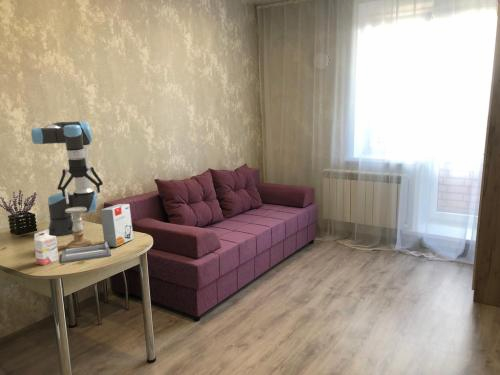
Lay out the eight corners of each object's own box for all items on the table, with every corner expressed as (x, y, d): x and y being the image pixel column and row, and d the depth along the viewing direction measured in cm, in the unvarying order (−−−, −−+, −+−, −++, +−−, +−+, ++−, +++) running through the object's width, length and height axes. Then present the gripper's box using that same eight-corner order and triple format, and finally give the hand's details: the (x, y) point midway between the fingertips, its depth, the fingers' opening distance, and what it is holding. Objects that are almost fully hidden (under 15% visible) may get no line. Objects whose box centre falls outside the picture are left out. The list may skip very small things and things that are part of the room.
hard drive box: (116, 247, 207) (111, 209, 204) (104, 247, 209) (99, 210, 206) (134, 238, 221) (129, 203, 218) (122, 238, 224) (117, 203, 221)
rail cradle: (62, 254, 200) (61, 245, 199) (108, 247, 208) (108, 239, 207) (61, 263, 187) (60, 254, 186) (111, 255, 196) (110, 247, 195)
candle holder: (85, 240, 220) (82, 205, 217) (96, 245, 212) (92, 208, 208) (62, 246, 212) (59, 209, 208) (72, 251, 203) (68, 212, 200)
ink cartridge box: (44, 265, 184) (40, 234, 182) (36, 264, 186) (32, 233, 184) (59, 259, 192) (56, 229, 189) (51, 258, 194) (48, 228, 191)
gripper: (46, 162, 181) (54, 206, 187) (104, 157, 189) (110, 199, 195) (48, 159, 188) (55, 202, 194) (104, 154, 196) (109, 195, 202)
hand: (82, 201), depth 194 cm, fingers open, 13 cm apart
